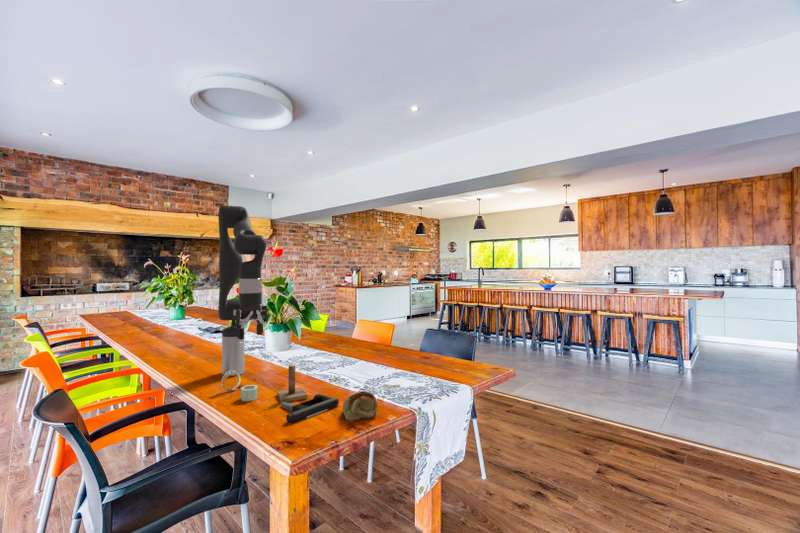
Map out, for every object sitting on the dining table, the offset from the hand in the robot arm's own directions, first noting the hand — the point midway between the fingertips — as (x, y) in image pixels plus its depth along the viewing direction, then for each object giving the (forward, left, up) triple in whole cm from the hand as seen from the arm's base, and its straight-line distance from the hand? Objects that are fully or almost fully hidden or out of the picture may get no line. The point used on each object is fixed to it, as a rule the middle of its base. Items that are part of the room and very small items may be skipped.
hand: (250, 336), depth 130 cm
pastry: (+27, +31, -24) cm, 47 cm away
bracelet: (-17, -5, -24) cm, 30 cm away
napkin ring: (-5, 0, -24) cm, 24 cm away
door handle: (+14, +15, -24) cm, 32 cm away
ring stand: (+1, +14, -24) cm, 28 cm away
